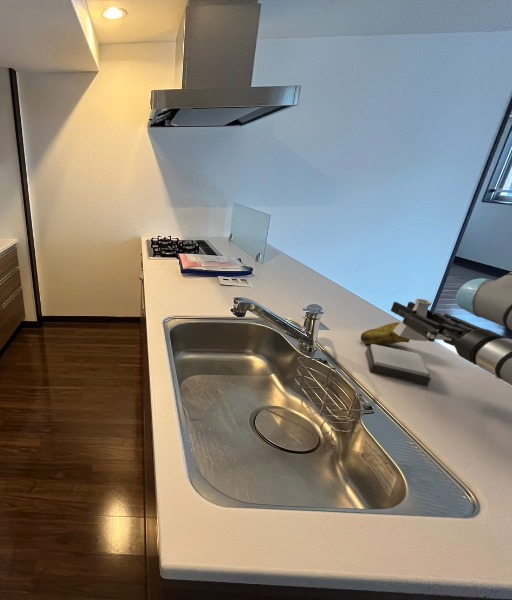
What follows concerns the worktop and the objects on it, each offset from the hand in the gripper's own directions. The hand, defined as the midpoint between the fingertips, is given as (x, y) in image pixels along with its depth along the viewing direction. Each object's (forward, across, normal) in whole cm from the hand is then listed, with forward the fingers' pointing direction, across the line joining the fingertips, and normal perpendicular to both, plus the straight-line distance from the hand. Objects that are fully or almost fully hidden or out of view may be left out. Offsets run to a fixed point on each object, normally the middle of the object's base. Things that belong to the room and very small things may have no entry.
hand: (401, 306), depth 88 cm
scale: (-4, 0, -17) cm, 18 cm away
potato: (+8, +6, -17) cm, 20 cm away
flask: (-5, 0, -6) cm, 8 cm away
